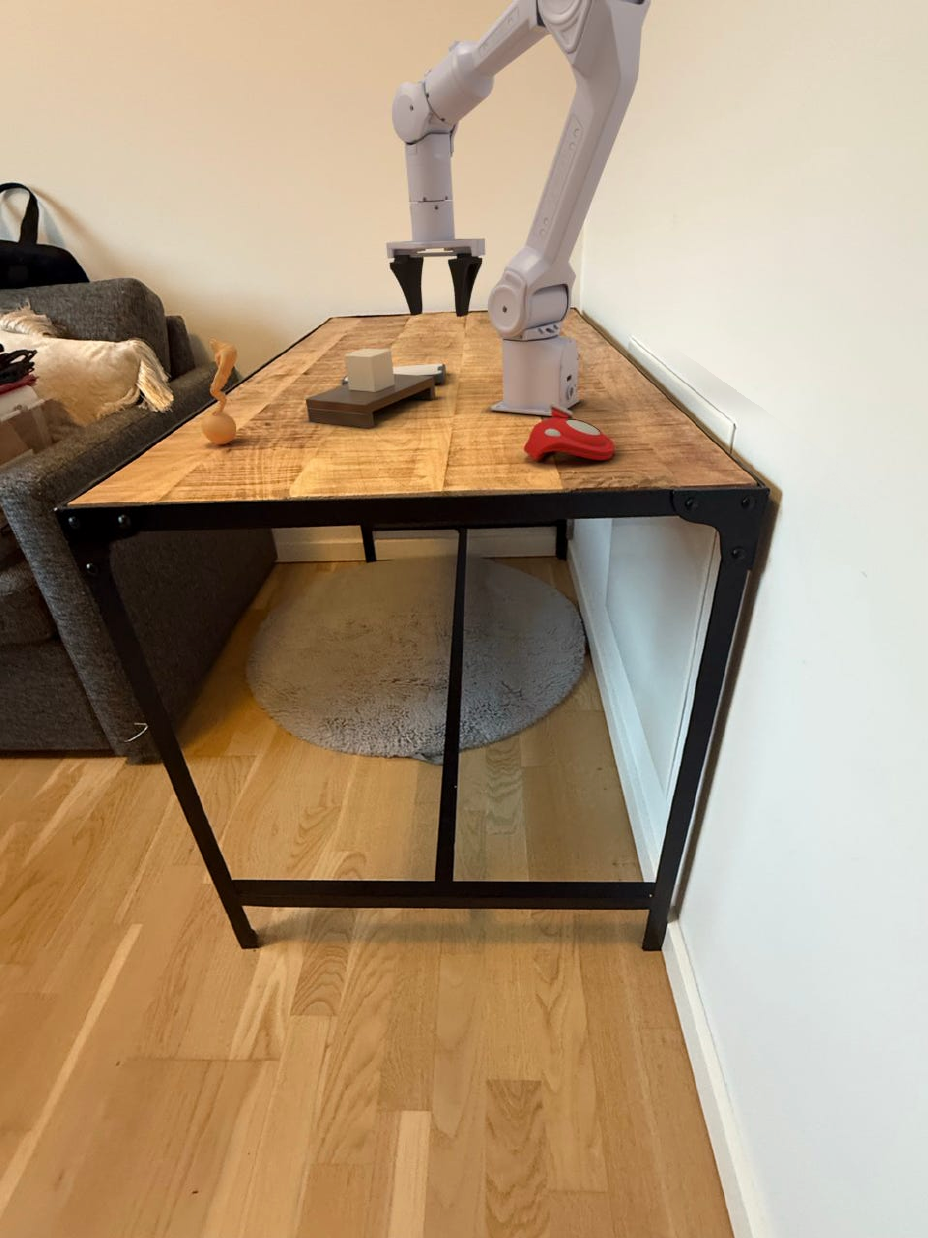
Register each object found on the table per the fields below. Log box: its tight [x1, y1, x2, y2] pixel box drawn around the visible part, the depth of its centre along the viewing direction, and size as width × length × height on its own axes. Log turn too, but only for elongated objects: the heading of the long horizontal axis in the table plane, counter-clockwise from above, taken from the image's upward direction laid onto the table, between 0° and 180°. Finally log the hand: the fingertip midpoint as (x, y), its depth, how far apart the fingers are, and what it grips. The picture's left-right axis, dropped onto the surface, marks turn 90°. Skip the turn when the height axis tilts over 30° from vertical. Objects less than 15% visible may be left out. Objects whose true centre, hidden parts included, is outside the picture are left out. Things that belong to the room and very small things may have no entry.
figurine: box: [201, 338, 238, 445], centre depth 80 cm, size 8×6×12 cm
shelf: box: [305, 374, 436, 429], centre depth 92 cm, size 10×16×3 cm, turn 150°
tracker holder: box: [523, 402, 616, 462], centre depth 72 cm, size 12×4×10 cm
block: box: [343, 348, 395, 392], centre depth 90 cm, size 4×4×4 cm
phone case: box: [341, 363, 447, 386], centre depth 107 cm, size 9×2×16 cm
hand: (439, 315), depth 94 cm, fingers open, 7 cm apart
